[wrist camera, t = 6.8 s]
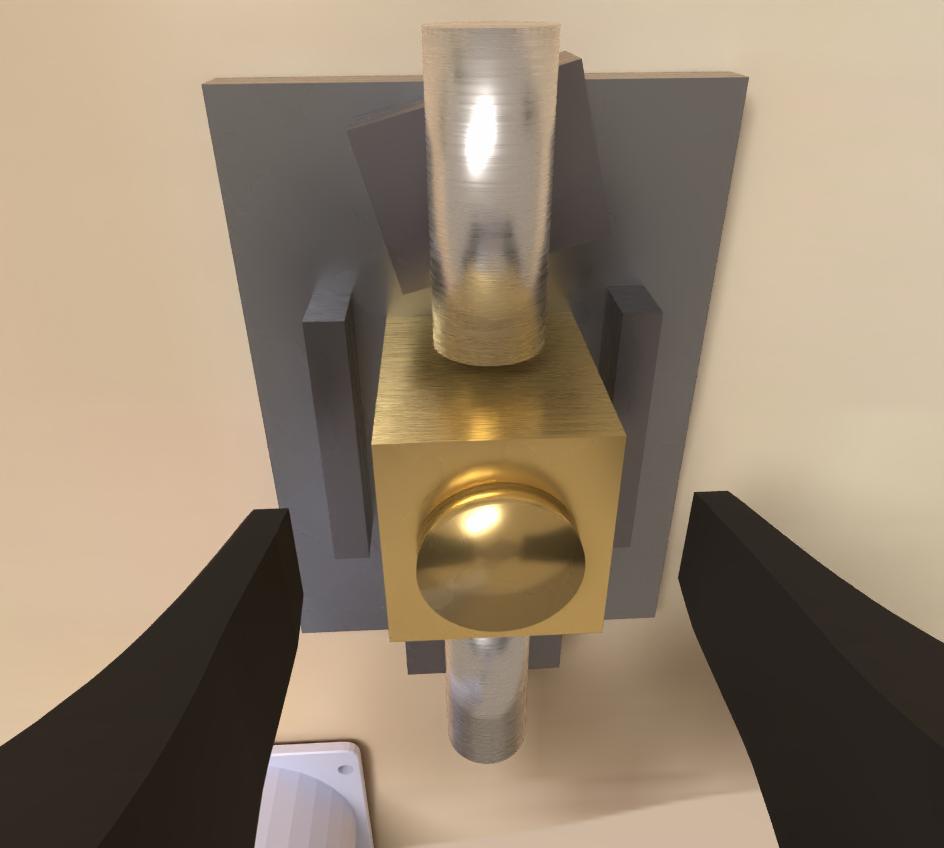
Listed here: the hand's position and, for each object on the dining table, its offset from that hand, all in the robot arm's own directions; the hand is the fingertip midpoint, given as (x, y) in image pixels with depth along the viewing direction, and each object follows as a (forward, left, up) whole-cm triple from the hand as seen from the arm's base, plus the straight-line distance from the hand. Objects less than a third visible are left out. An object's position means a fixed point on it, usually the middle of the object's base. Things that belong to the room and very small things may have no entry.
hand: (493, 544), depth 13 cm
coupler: (0, 0, -5) cm, 5 cm away
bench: (0, 0, -6) cm, 6 cm away
